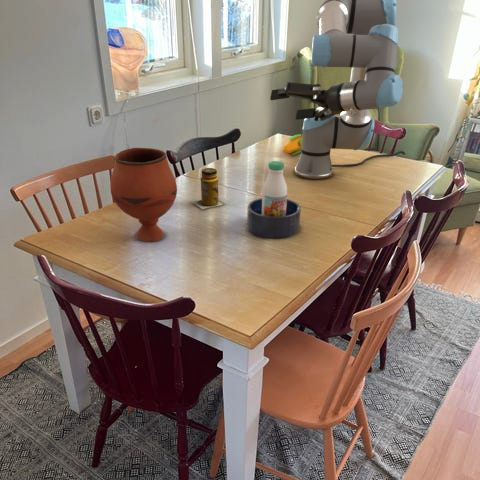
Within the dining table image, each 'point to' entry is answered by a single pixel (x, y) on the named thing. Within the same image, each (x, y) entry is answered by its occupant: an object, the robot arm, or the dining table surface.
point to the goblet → (144, 188)
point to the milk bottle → (274, 191)
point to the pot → (273, 221)
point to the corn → (293, 144)
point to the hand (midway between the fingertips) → (284, 105)
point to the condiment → (208, 189)
